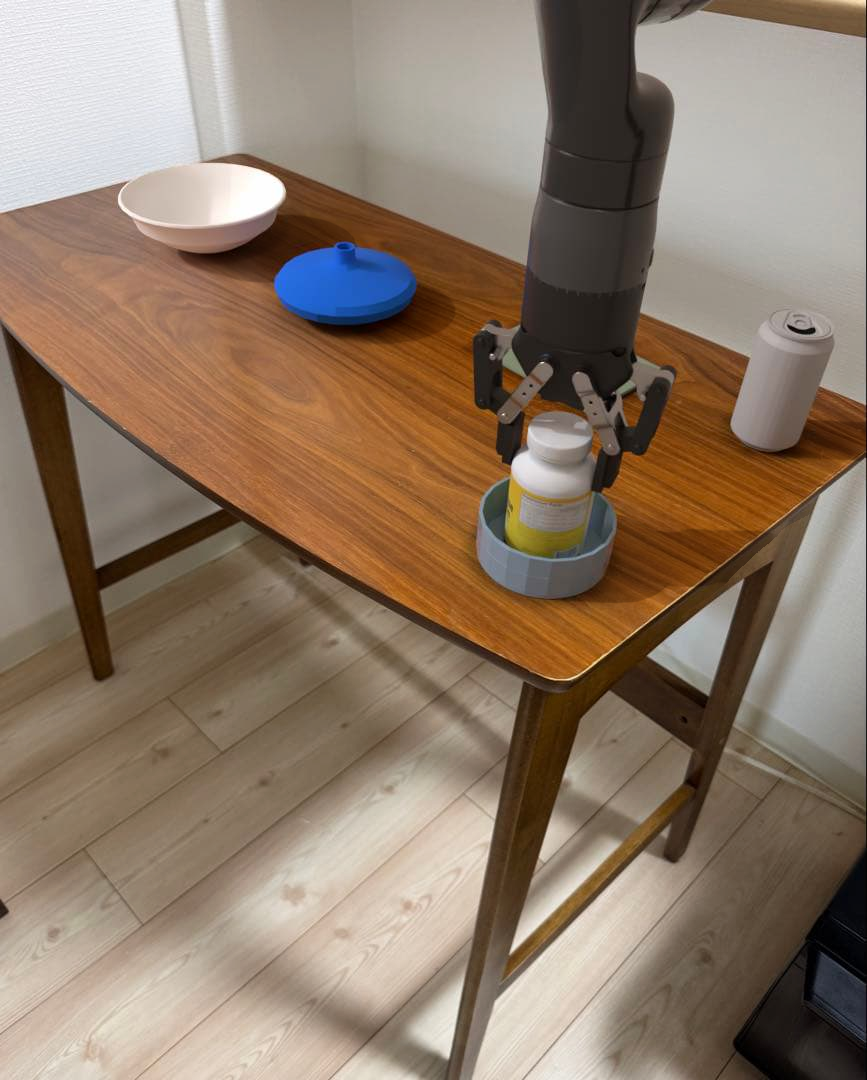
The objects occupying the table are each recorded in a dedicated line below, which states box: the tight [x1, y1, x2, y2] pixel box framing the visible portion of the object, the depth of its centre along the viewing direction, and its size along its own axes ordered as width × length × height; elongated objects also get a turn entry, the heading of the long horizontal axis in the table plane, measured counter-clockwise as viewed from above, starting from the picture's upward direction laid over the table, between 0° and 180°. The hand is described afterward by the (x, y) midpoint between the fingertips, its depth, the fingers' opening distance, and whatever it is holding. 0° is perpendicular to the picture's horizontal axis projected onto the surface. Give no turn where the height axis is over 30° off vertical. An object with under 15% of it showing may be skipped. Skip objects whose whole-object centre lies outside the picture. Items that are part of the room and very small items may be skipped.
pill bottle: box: [504, 410, 597, 559], centre depth 68 cm, size 6×6×12 cm
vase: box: [273, 241, 418, 326], centre depth 99 cm, size 16×16×7 cm
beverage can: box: [730, 307, 836, 453], centre depth 82 cm, size 6×6×12 cm
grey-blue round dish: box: [475, 476, 618, 600], centre depth 71 cm, size 11×11×4 cm
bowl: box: [117, 162, 287, 254], centre depth 111 cm, size 20×20×6 cm
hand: (554, 472), depth 67 cm, fingers closed on pill bottle, 6 cm apart
